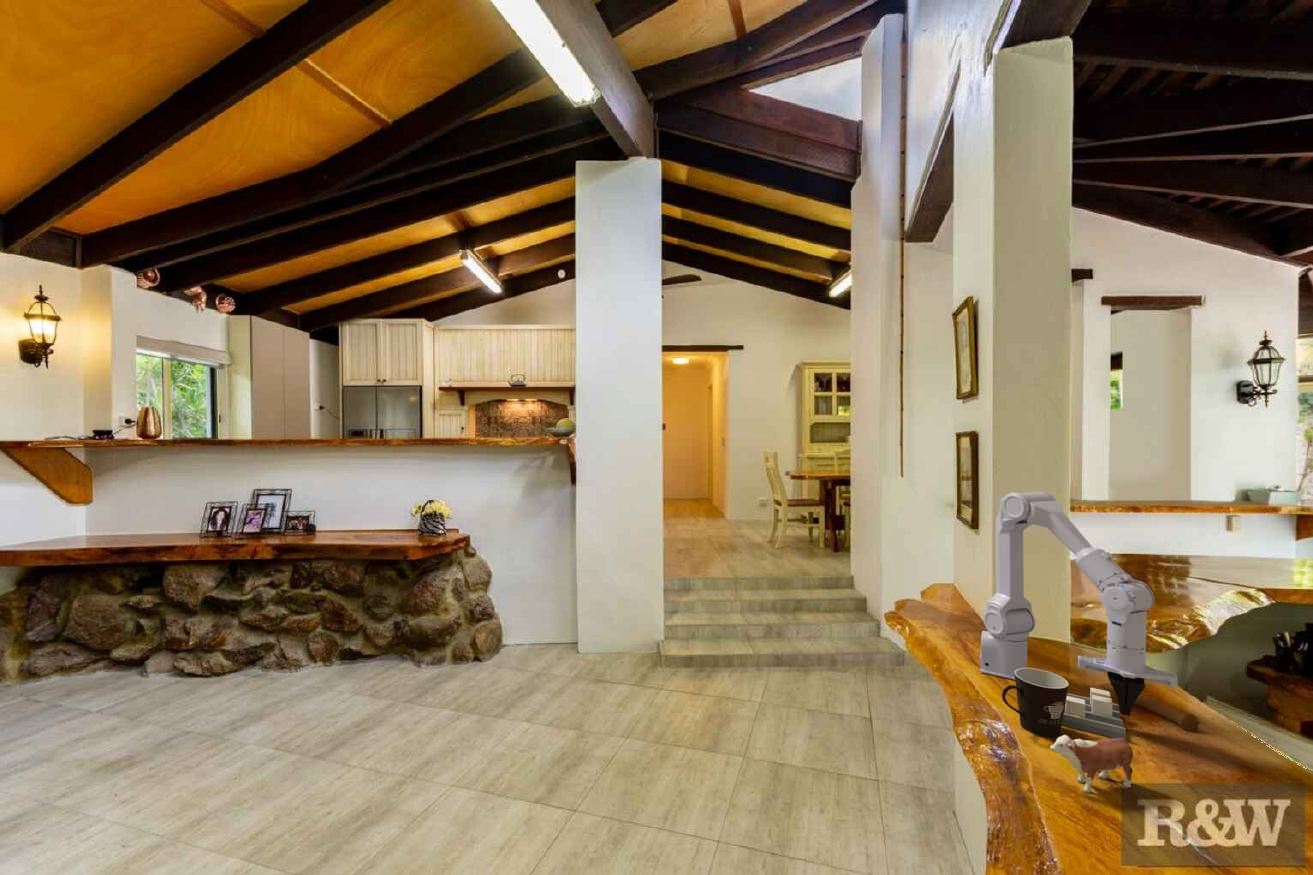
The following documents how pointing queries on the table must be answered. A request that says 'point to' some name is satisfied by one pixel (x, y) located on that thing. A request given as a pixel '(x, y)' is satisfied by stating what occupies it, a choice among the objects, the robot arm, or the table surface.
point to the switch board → (1096, 721)
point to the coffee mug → (1039, 701)
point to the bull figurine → (1096, 757)
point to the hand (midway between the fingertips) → (1124, 713)
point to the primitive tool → (1163, 710)
